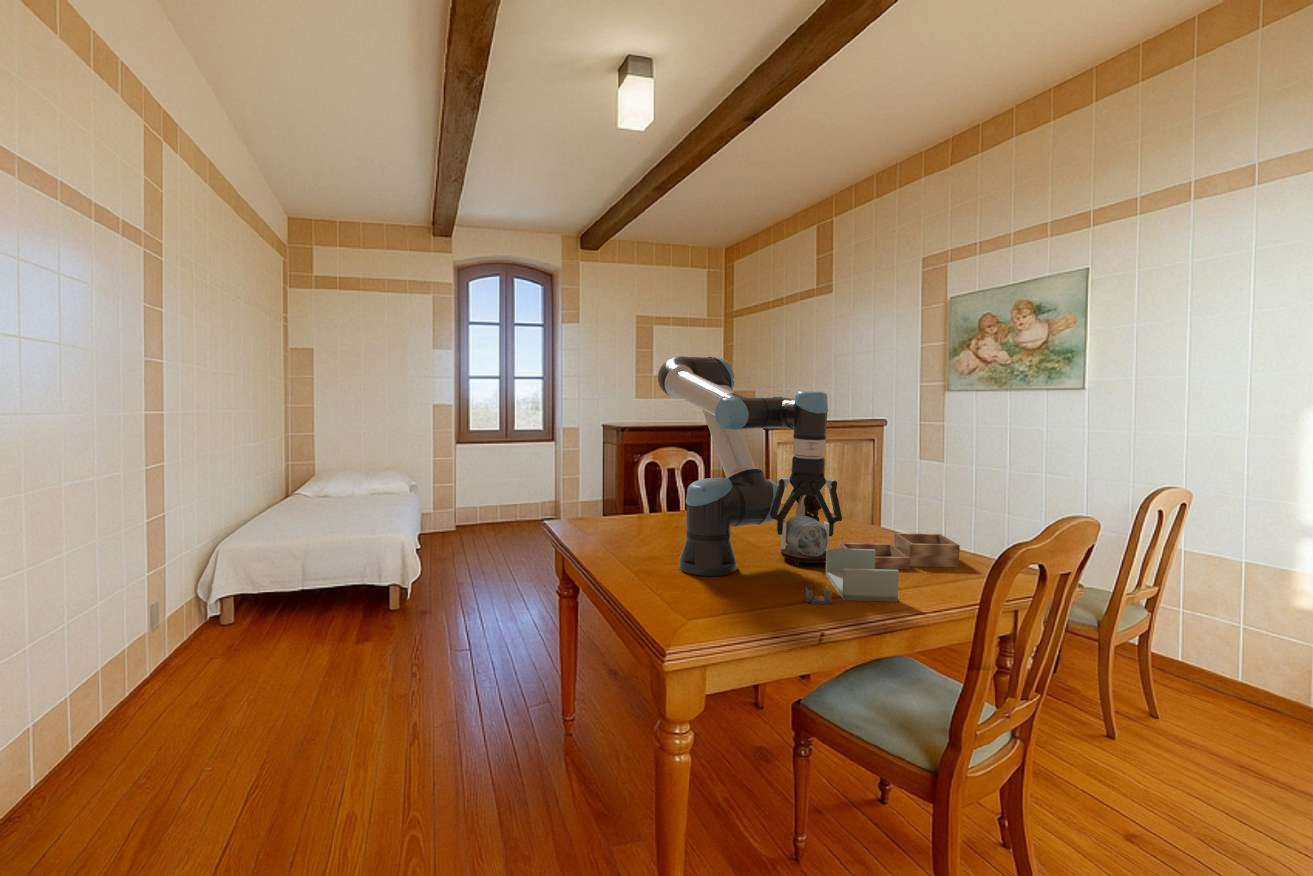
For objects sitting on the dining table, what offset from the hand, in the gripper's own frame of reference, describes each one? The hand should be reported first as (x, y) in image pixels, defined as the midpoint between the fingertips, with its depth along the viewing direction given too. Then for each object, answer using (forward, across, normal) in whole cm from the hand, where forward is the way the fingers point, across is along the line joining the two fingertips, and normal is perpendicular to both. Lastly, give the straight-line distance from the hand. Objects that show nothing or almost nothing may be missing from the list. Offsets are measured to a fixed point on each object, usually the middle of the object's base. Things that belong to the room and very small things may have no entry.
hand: (804, 548), depth 152 cm
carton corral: (+9, +38, +25) cm, 47 cm away
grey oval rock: (+1, 0, 0) cm, 1 cm away
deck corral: (+9, +24, +23) cm, 34 cm away
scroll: (+10, +6, +22) cm, 25 cm away
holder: (+9, +14, -1) cm, 16 cm away
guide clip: (+9, +2, -12) cm, 15 cm away
